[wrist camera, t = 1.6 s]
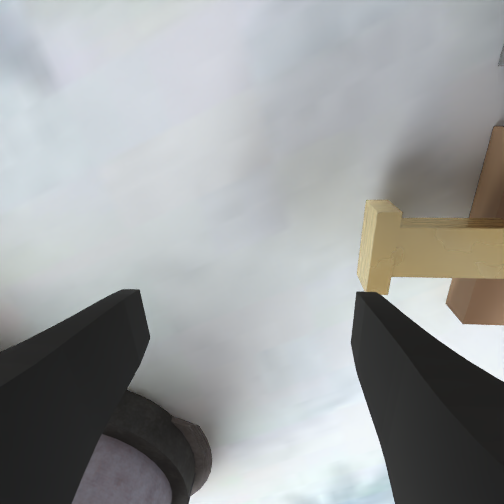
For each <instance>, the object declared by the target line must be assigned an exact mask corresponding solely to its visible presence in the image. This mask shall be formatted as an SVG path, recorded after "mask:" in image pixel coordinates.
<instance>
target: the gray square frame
mask: <svg viewBox="0 0 504 504" xmlns="http://www.w3.org/2000/svg"><path fill="white" fill-rule="evenodd" d="M498 66H504V46H503V50H502V53H501V57H500V61H499V65H498Z"/></svg>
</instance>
